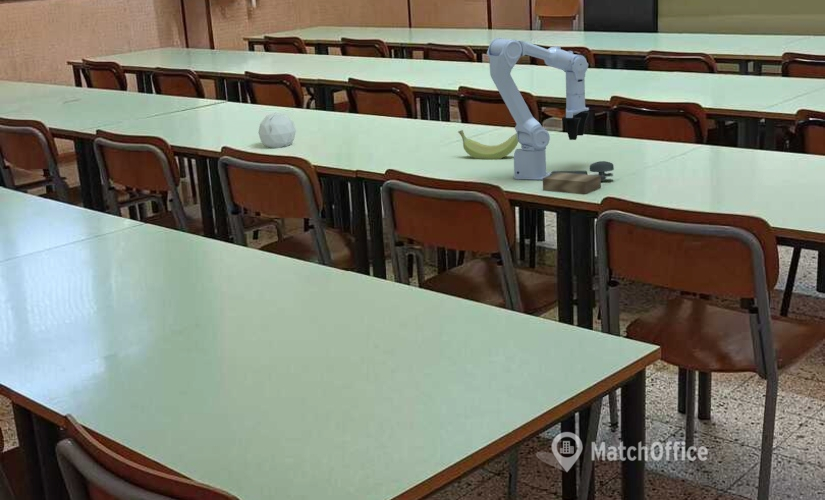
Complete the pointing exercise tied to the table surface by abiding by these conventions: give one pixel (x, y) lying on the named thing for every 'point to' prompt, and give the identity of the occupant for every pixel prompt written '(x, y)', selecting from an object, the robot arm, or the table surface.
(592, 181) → the walnut block
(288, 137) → the geodesic sphere
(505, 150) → the banana
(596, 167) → the can opener
